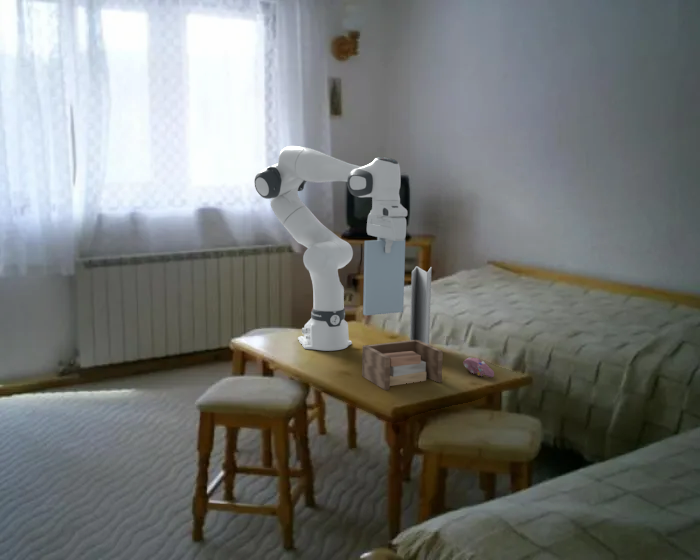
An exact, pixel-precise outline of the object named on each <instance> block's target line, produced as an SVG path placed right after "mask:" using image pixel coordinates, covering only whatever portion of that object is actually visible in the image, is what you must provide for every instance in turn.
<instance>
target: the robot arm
mask: <svg viewBox="0 0 700 560" xmlns="http://www.w3.org/2000/svg"><path fill="white" fill-rule="evenodd" d="M401 181H402V180H401V166H400V163H399V162H398V160H397V159H394V158H391V157H385V156H378V157H375V158H374V159H373V161H372V162H370V163H368V164H365V165H362V166H361V165H358V164H355V163H350V162H346V161H344V160H342V159H339V158H336V157H333V156H331V155H329V154H326V153H324V152H321V151H319V150H316V149H313V148H310V147H305V146H299V145H288V146H286V147H283V149H281V151H280V152H279V155H278V162H276V163H274V164H273V165H270V166H268V167H265V168H263V169H262V170H260V171H259V172H258V173H257V174H256V175H255V177H254V187H255V190H256V192H257V193H258V195H260V197H261V198H264V199H267V200H268V199H269V200H270V199H271V200H270V207H271V208H270V209H272V211H273V213H274V215H275V217H276V218H277V219H278V221H279V222H280V224H282V226H283V227H284V228H285V229H286V231H287V232H288V233H289V234H290V236H291V237H292V238H293V239H294V241H296V242H297V243H298V244H300V245H301V246H304V247H305V248H307V249H306V250H305V251H304V253H303V257H302V260H303V265H304V267H305V269H306V270H307V271H308V272H309V275H310V279H311V283H312V291H313V298H312V299H313V304H312V305H313V307H312V308H311V311H310V312H311V315H310V317H311V318H310V319H308V321H307V322H306V323H305V324H304V327H302V328H301V334H302V335H300V336H298V337H297V341H298V340H299V341H298V342H299V343H300V345H301V344H302V345H301V346H302V347H303V349H306V350H315V351H316V350H317V351H324V352H326V351H329V352H332V351H340V350H341V351H342V350H344V349H346V348H348V347H349V346H350V345H352V343H353V342H352V340H350V336H349V323H348V322H347V321H346V320H345V318H346V311H345V310H346V309H345V307H344V306H345V305H344V304H345V301H344V300H345V299H344V298H345V292H344V291H345V288H344V286H343V285H342V283H341V281H340V276H339V269H343V268H344V267H346V265H348V264H349V263H350V262H351V261H352V259H353V255H354V250H353V247H352V245H351V244H350V243H349V242H348V241H346V240H344V239H342V238H340V237H339V236H338V235H337V234H336V233H334V232H333V231H332V230H330V229H329V228H328V227H326V226H325V225H324V224H323V223H322V222H321V221H320V220H319V219H318V218H317V217H316V215H314V213H312V211H311V209H310V208H309V207H307V205H306V204H305V203H304V202H303V201H302V200H301V198H300V197H299V194H298V192H302V191H303V190H305V185H306V183H308V182H309V183H328V182H346V184H347V188H348V192H349V193H350V194H351V195H352V196H354V197H358V198H372V199H371V200H372V201H371V204H372V205H371V206H372V207H371V210H370V212H369V213H368V215H367V220H366V222H367V223H366V233H367V235H368V236H372V237H375V238H376V240H385V242H386V245H385V247H384V252H385V253H390V252H391V246H392V244H393V241H404V240H406V236H407V219H406V217H407V216H408V210H407V208H405V207H404V206H403V205H402V203H401V198H400V189H401Z"/></svg>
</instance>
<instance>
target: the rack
mask: <svg viewBox="0 0 700 560" xmlns="http://www.w3.org/2000/svg"><path fill="white" fill-rule="evenodd" d="M406 351H413V352H415V353H417V354H419V355H420V356H421V360H422V361H424V362H426V378H428V379H430V380H432V381H433V380H434V381H433V382H435V381H436V382H435V383H437V382H439V383H443V380H442V379H443V355H444V354H443V353H444V351H443V350H441V349H439V348H437V347H435V346H433V345H430V344H429V345H428V344H426V343H424V342H422V341H419V340H410V339H409V340H403V341H394V342H384V343H375V344H367V345H366V344H365V345H362V356H361V357H362V359H361V360H362V361H361V362H362V365H361V366H362V367H361V368H362V369H361V376H362V377H363V378H365V379H366V380H368V381H369V382H370V383H372V384H374V385H375V386H377V387H378V388H379V387H380V388H381V389H382V390H384V391H389V390H390V386H389V385H390V357H388V356H386V355H385V353H395V352H406Z"/></svg>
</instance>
